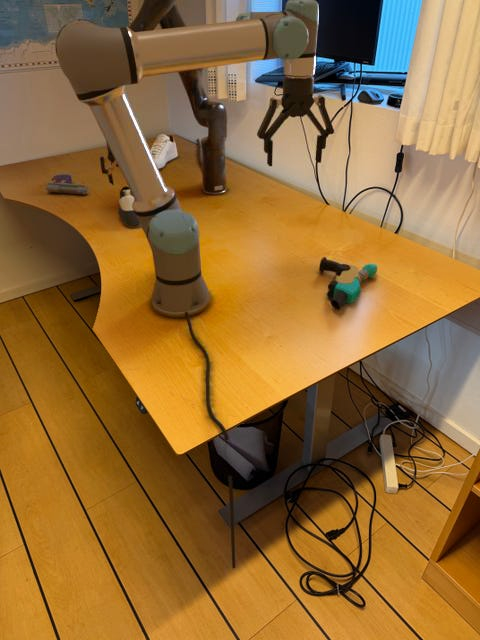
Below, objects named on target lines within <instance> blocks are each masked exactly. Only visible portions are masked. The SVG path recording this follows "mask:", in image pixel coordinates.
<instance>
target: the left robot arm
mask: <svg viewBox="0 0 480 640" xmlns="http://www.w3.org/2000/svg"><path fill="white" fill-rule="evenodd" d="M319 9H320V8H319V3H318V2H317V0H287V2H286V3H285V9H284V10H280V11H249V12H241V13H239V14H238V15H237V16H236V18H235V20H233V21H232V20H231V21H224V22H216V23H207V24H205V23H204V24H198V25H189V26H188V25H186V26H187V27H178V28H169V29H161V28H160V29H154V30H152V31H143V32H133V31H132V30H131V29H130V28H128V26H123V27H104V26H101V25H99V24H98V23H97V22H95V21H93V20H90V19H86V18H76V19H72V20H70V21H68V22H66V23H65V24H64V25H62V27H61V28H60V29H59V31H58V32H57V35H56V37H55V44H54V45H55V46H54V47H55V48H54V49H55V54H56V58H57V61H58V64H59V67H60V69H61V72H62V73H63V74H64V76H65V77H66V78H67V80H68V82H69V85H70V86H71V88H72V90H73V92H74V94H75V95H76V98H77V99H78V100H77V101H79V102H80V103H83V104H85V105H87V106H88V107H89V109H90V111H91V113H92V114H93V117H94V119H95V121H96V123H97V125H98V127H99V129H100V131H101V133H102V135H103V137H104V139H105V142H106V141H107V143H108V146H109V148H110V150H111V152H112V154H113V156H114V158H115V160H116V162H117V164H118V166H119V167H118V168H119V170H120V172H121V174H122V176H123V178H124V181H125V183H126V185H127V187H129V189H130V191H131V193H132V195H133V197H134V202H133V205H132V208H133V210H134V212H135V214H136V216H137V218H138V220H139V222H140V225H141V226H140V227H141V229H142V231H143V233H144V235H145V238H146V239H147V243H148V245H149V247H150V250H151V253H152V260H153V261H152V262H153V268H154V274H155V275H154V276H155V281H154V284H153V290H152V294H151V305H152V308H153V310H154V311H155V312H156V313H157V314H159V315H160V316H163V317H167V318H171V319H183V318H185V319H186V322H187V325H188V330H189V333H190V334H189V335H190V337H191V338H192V341H194V343H195V344H196V345H197V346H198V348H199V350H201V352H202V353H203V356H204V358H205V361H206V362H205V363H206V367H205V368H206V369H205V402H206V409H207V412H208V415H209V418H210V419H211V420H212V422H214V424H215V425H216V426H217V427H218V428H219V430H220V431H221V432H222V434H223V438H224V440H225V441H229V440H230V437H229V434H228V431H227V430H226V428H225V426H224V425H223V424H222V422H220V421H219V420H218V419H217V417H216V416H215V415H214V413H213V409H212V406H211V400H210V399H211V398H210V394H211V393H210V373H211V362H210V357H209V353H208V352H207V350H206V349H205V347H204V346H203V345H202V344H201V342H199V340H198V339H197V337H196V335H195V334H194V331H193V326H192V322H191V319H190V317H194V316H196V315H199V314H201V313H202V312H204V311H205V310H207V308H208V307H209V306H210V303H211V292H210V290H209V288H208V286H207V284H206V281H205V278H204V277H203V275H202V262H201V261H202V259H201V247H200V246H201V245H200V244H201V243H200V235H201V234H200V228H199V225H198V221H197V219H196V218H195V217H194V216H193V215H192V214H190V213H189V212H185V211H184V210H183V209H182V206H181V204H180V201H179V199H178V197H177V194H176V192H175V190H174V189H173V187H170V186H168V185H166V183H165V181H164V179H163V177H162V174H161V172H160V169H158V167H157V165H156V162H155V160H154V158H153V155H152V153H151V151H150V149H151V148H150V146H149V144H148V142H147V139H146V137H145V135H144V133H143V130H142V127H141V125H140V123H139V121H138V119H137V116H136V114H135V111H134V109H133V107H132V104H131V102H130V99H129V98H128V95H127V93H126V88H127V86H131V85H138V84H139V83H140V82H141V81H142V79H143V78H144V77H152V76H159V75H166V74H167V75H168V74H173V73H174V74H175V73H178V72H181V71H188V70H195V69H202V68H203V69H208V68H209V69H210V68H217V67H224V66H230V65H237V64H244V63H250V62H258V61H268V60H269V61H270V60H276V59H281V60H283V74H284V75H285V76H284V77H283V78H282V79H283V80H282V96H281V99H280V98H274V97H270V99H269V105H268V108H267V110H266V113H265V115H264V117H263V120H262V121H261V123H260V125H259V128H258V130H257V132H256V136H257V137H258V138H259V139H260V140H263V151H264V153H265V154H266V164H267V165H268V167H273V154H274V152H273V151H274V149H273V148H274V141H273V139H272V138H273V136H274V135H275V134H276V133H277V131H278V130H279V129H280V128H281V126H282V125H283V124H284V123H285V121H286V120H288V118H289V117H291V118H297V117H298V118H304V117H305V116H307V118H308V120H310V122H311V123H312V125H313V126H314V127H315V129H316V130H317V132H318V133H319V134H317V135H316V145H315V146H316V147H315V158H314V160H315V161H316V162H317V164H318V163H319V164H320V163H322V156H323V150H325V149H326V147H327V138H329V135H333V134H334V133H335V129H334V126H333V123H332V121H331V118H330V115H329V113H328V110H327V107H326V97H325V96H323V95H321V94H318V95H317V96H315V97H314V85H315V78H314V75H315V72H316V56H317V55H316V54H317V42H318V30H319V24H320V23H319V16H320V15H319V14H320V13H319V12H320V11H319ZM314 104H315V106H317V108H318V110H319V111H318V112H319V114H320V116H321V119H322V122H323V124H324V126H325V128H324V127H323V125H322V124H321V122H320V121H319V120H318V118H317V117H316V115H315V114H314V112H313V111H312V110H311V108H312V106H313V105H314ZM280 105H281V106H282V110H281V111H280V112H279V114H278V116H277V117H276V118H275V120H274V121H273V122H272V120H273V117H274V116H275V113H276V111H277V109H278V108H279V107H280ZM271 122H272V124H271ZM227 480H228V495H229V516H230V545H231V566H232V569H235V568H236V566H237V565H236V542H235V541H236V540H235V539H236V538H235V508H234V507H235V506H234V488H233V487H234V485H233V475H227Z"/></svg>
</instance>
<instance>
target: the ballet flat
mask: <svg viewBox="0 0 480 640" xmlns="http://www.w3.org/2000/svg"><path fill="white" fill-rule="evenodd" d="M133 202H134V197H133V195H132V193H131V191H130V189H129V187H128V186H122V188H121V189H120V190H119V200H118V203H119V207H118V212H117V214H118V216H119V218H120V220H121V221H122V222H123V223H124V225H125V226H127V227H128V228H130V229H131V228H132V229H135V228H139V227H141V225H140V222H139V220H138V218H137V216H136V214H135V212H134V210H133V208H132V205H133Z"/></svg>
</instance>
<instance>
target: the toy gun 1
mask: <svg viewBox="0 0 480 640" xmlns="http://www.w3.org/2000/svg"><path fill="white" fill-rule="evenodd" d="M72 182H73V176H72V174H70V173H58V174H56V175H53V177H52V178H51V182H47V185H46V188H45V190H46V191H47V192H49V193H57V194H74V195H87V192H88V191H89V187H88V185H84V184H78V183H76V184H75V183H72Z"/></svg>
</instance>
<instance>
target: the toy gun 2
mask: <svg viewBox="0 0 480 640" xmlns="http://www.w3.org/2000/svg"><path fill="white" fill-rule="evenodd" d="M324 271H327V272H332V273H335V278H334V279H332V280H330V281H329V283H328V284H327V289H328V290H327V292H326V296H327V298H329V299H330V304H331V307H332V308H333V309H334V310H335V311H338V312H339V311H340V310H341V309H342V308H343V307H344V306H345V304H346V303H347V304H353V302H355V301H357V299H358V298H359V297H360V295H361V293H362V288H361V284H362V283H363V282H365V281H366V280H367V279H368V278H369V279H371V278H373V277H374V276H376V274H377V272H378V265H377V264H375V263H367V264H364V266H362V268H361V269H360V270H359V267H358V266H357V265H354V264H353V265H352V264H346V263H340V262H337V261H334V260H332V259H327V257H326V256H323V257H322V258H321V260H320V262H319V268H318V272H320V273H324Z"/></svg>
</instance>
